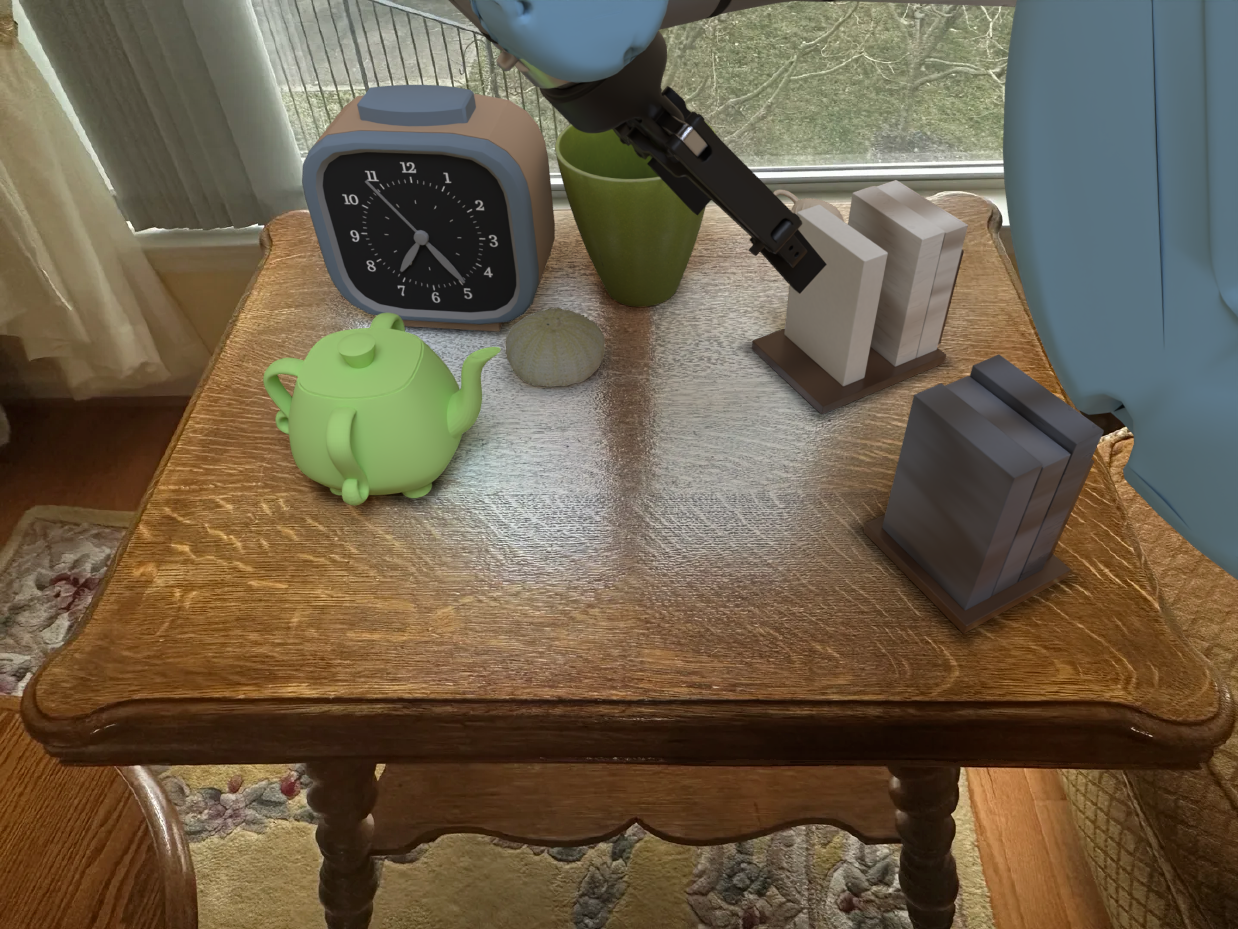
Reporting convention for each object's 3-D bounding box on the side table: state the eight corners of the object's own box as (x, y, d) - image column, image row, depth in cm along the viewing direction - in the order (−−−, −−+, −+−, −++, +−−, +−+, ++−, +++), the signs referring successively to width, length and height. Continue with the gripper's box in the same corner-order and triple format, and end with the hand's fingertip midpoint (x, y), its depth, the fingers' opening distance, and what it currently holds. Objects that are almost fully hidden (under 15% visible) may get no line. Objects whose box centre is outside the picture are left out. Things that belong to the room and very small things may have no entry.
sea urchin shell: (600, 385, 83) (533, 327, 80) (546, 424, 88) (481, 370, 85) (624, 324, 90) (562, 268, 87) (572, 363, 95) (512, 312, 92)
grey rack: (1067, 578, 69) (1138, 429, 59) (963, 634, 66) (1018, 488, 55) (961, 484, 76) (1007, 337, 66) (862, 531, 73) (895, 385, 62)
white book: (864, 378, 84) (888, 252, 75) (843, 387, 84) (864, 261, 74) (804, 326, 90) (819, 203, 81) (783, 334, 89) (796, 211, 80)
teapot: (445, 378, 88) (420, 262, 79) (520, 464, 80) (501, 344, 71) (279, 449, 82) (232, 331, 73) (341, 550, 74) (296, 430, 65)
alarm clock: (341, 328, 94) (278, 120, 79) (372, 275, 101) (319, 73, 86) (542, 340, 92) (516, 127, 76) (560, 284, 98) (540, 78, 83)
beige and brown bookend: (949, 361, 87) (986, 224, 77) (821, 415, 83) (842, 277, 73) (872, 301, 94) (897, 170, 84) (751, 348, 90) (761, 215, 80)
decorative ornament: (836, 260, 100) (842, 215, 96) (764, 240, 103) (768, 196, 99) (850, 242, 102) (857, 197, 98) (780, 223, 105) (784, 179, 101)
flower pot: (557, 327, 93) (541, 178, 82) (579, 246, 104) (568, 103, 92) (708, 333, 91) (714, 181, 80) (715, 249, 102) (721, 105, 91)
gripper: (463, 34, 64) (640, 208, 79) (642, 171, 47) (822, 357, 63) (534, -57, 63) (700, 138, 78) (744, 50, 46) (902, 271, 61)
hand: (755, 236), depth 70 cm, fingers open, 13 cm apart
